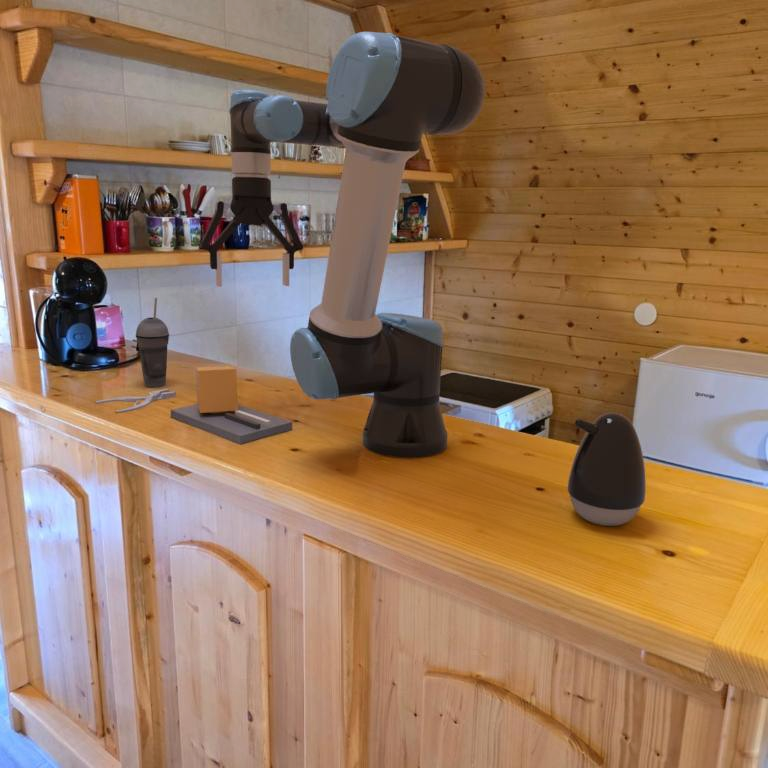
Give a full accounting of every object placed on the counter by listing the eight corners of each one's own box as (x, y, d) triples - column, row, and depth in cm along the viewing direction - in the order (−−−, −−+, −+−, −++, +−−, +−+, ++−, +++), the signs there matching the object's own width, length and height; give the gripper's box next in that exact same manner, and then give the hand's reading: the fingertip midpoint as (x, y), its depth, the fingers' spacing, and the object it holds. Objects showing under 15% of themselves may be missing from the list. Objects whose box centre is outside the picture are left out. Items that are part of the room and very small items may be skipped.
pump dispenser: (554, 502, 101) (563, 402, 97) (623, 502, 102) (635, 403, 98) (577, 534, 91) (589, 424, 87) (654, 534, 92) (669, 425, 88)
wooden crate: (233, 405, 139) (232, 365, 138) (237, 410, 132) (236, 369, 131) (197, 407, 137) (195, 367, 136) (200, 412, 130) (198, 370, 129)
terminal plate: (292, 429, 130) (292, 396, 128) (240, 444, 121) (239, 408, 120) (221, 405, 144) (220, 375, 142) (170, 417, 135) (169, 385, 134)
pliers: (94, 397, 143) (160, 385, 153) (94, 404, 143) (160, 392, 154) (116, 407, 136) (184, 394, 147) (117, 415, 137) (184, 401, 147)
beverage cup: (145, 380, 162) (140, 295, 157) (176, 381, 162) (172, 296, 157) (133, 388, 155) (127, 299, 150) (165, 389, 155) (161, 300, 150)
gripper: (308, 179, 143) (307, 282, 148) (183, 174, 134) (187, 284, 139) (318, 179, 136) (317, 287, 142) (187, 173, 127) (191, 288, 133)
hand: (253, 285), depth 141 cm, fingers open, 13 cm apart
